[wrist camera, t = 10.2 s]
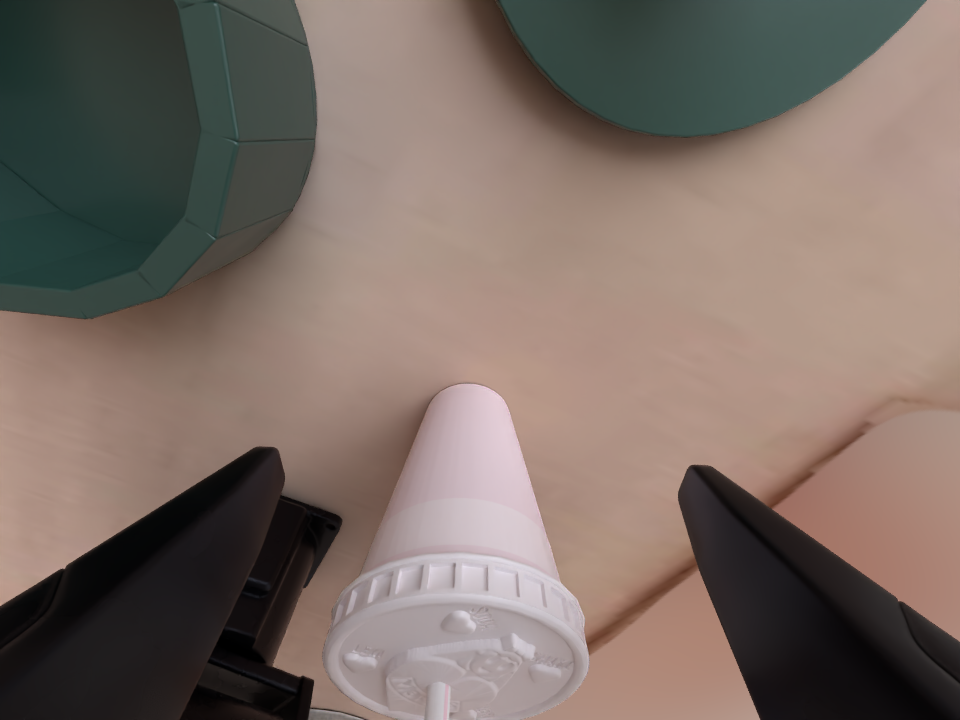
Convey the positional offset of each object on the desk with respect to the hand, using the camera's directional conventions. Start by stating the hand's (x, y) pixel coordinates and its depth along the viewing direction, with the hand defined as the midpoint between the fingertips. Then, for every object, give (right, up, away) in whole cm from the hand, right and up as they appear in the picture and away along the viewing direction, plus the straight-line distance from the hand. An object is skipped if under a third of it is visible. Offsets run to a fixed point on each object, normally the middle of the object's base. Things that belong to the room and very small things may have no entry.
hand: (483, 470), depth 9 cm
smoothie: (-1, 0, +9) cm, 9 cm away
